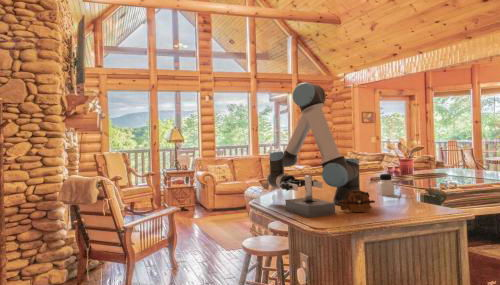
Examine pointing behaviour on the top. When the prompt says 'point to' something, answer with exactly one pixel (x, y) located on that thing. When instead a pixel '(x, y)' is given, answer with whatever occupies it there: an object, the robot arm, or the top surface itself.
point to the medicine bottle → (385, 185)
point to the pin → (308, 188)
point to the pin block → (310, 207)
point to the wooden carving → (356, 201)
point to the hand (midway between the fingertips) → (309, 186)
